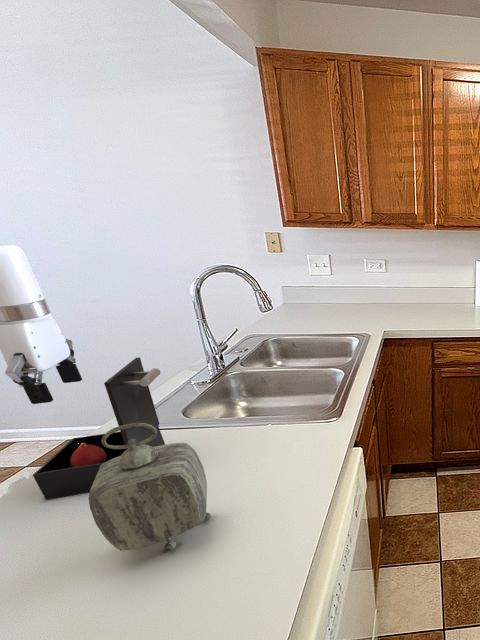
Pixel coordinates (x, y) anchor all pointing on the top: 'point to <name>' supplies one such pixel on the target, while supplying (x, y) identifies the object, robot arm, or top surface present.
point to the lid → (133, 399)
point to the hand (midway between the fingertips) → (58, 391)
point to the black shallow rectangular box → (68, 480)
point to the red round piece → (88, 455)
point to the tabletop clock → (148, 493)
